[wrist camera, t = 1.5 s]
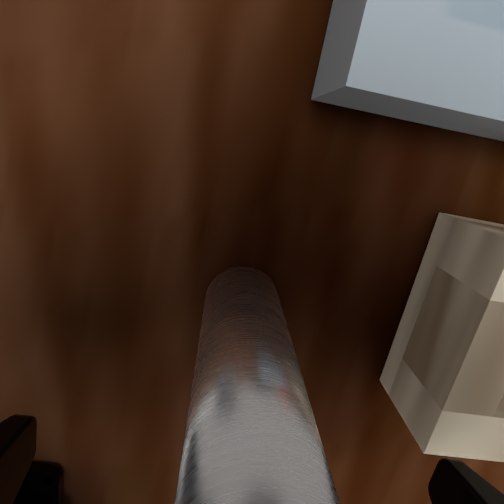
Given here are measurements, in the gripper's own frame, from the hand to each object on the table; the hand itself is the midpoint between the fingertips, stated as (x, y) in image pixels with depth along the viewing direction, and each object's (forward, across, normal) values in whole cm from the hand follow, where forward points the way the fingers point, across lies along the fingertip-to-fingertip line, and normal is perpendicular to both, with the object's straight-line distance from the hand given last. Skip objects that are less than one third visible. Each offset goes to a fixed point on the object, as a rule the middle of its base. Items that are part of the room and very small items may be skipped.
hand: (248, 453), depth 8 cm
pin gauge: (+7, 0, 0) cm, 7 cm away
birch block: (+7, -11, -1) cm, 13 cm away
